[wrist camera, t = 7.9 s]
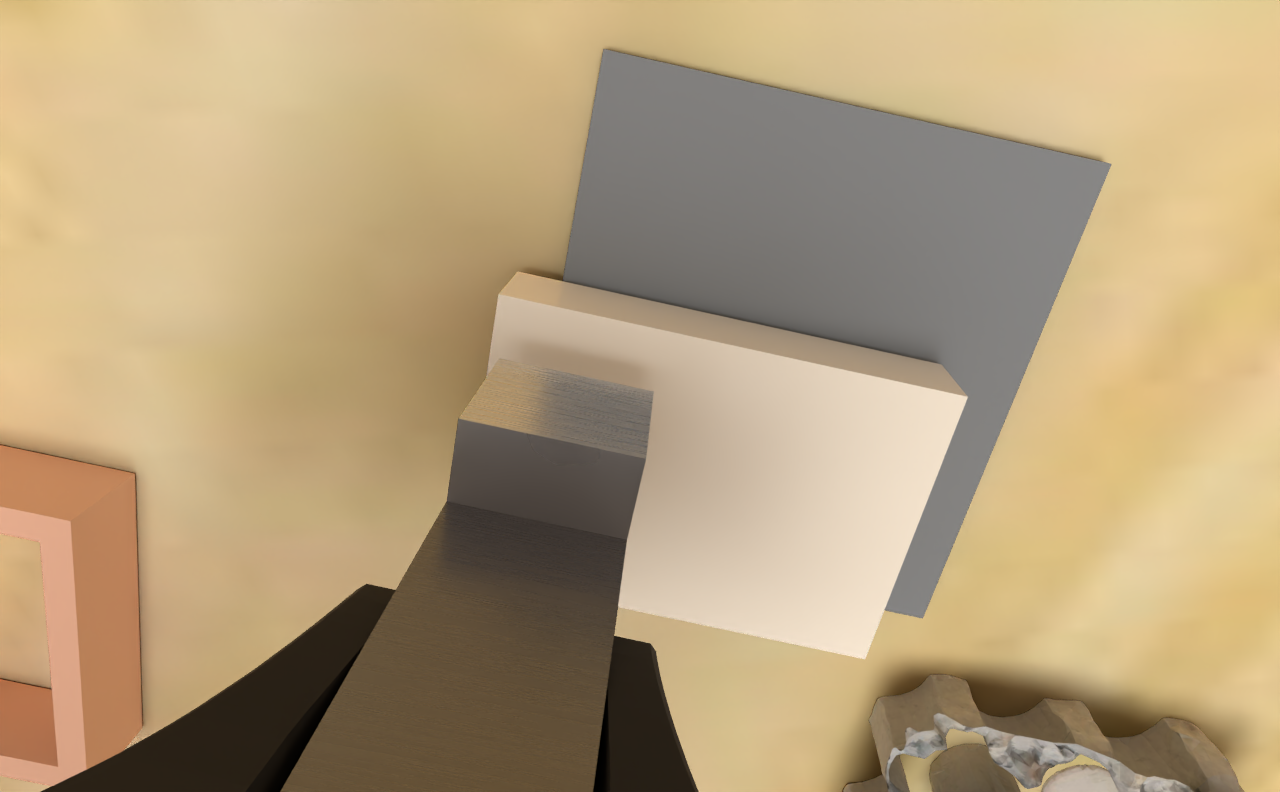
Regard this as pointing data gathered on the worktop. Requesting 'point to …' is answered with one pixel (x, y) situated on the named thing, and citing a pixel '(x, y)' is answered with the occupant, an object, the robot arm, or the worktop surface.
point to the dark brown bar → (500, 604)
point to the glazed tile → (752, 458)
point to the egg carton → (1035, 748)
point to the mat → (835, 240)
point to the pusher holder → (74, 616)
